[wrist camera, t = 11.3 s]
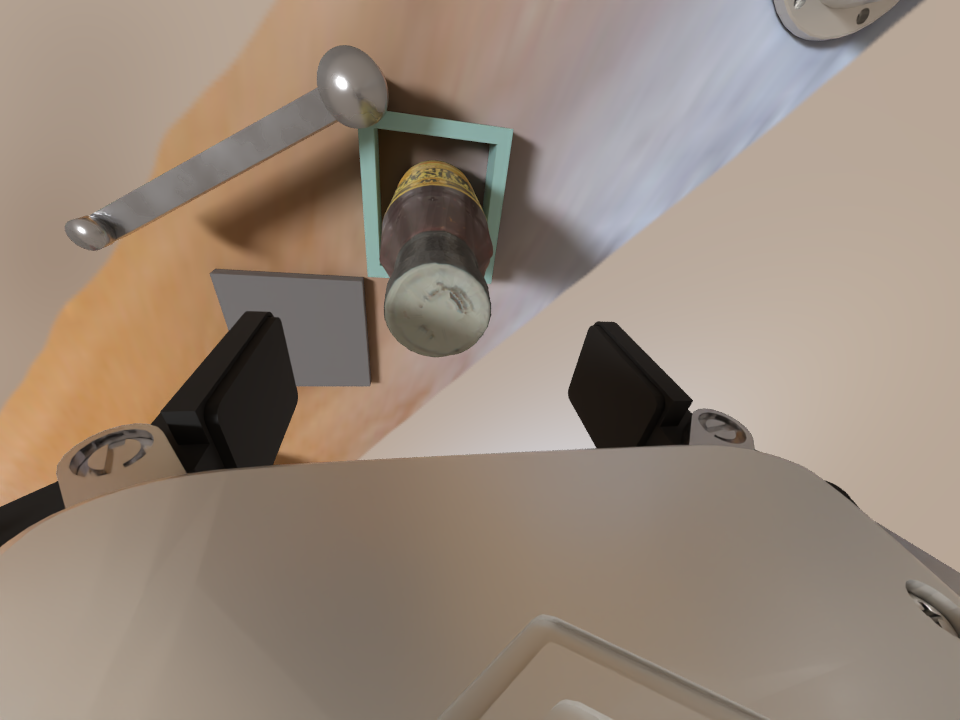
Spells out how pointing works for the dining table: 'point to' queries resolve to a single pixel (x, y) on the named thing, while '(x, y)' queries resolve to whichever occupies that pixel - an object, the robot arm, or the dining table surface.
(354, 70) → the bar
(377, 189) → the teal square frame
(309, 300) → the pad
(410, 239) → the sauce bottle
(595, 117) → the dining table surface
